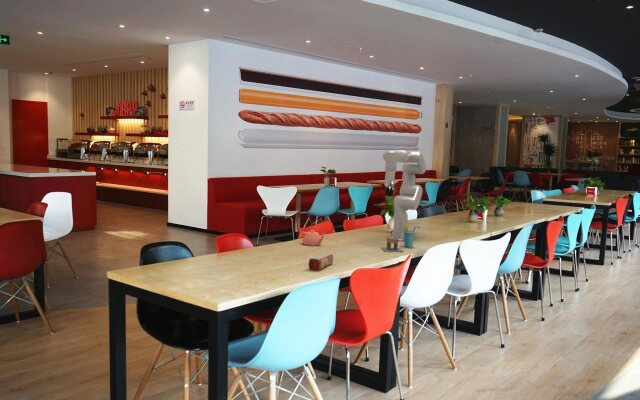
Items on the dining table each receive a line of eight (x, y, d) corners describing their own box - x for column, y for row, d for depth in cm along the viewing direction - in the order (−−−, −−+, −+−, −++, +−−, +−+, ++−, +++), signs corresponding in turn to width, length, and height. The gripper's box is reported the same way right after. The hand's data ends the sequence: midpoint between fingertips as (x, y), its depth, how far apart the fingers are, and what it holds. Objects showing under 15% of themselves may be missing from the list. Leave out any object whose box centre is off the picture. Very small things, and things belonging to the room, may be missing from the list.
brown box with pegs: (386, 248, 362) (387, 237, 362) (395, 248, 363) (396, 237, 362) (388, 250, 357) (389, 239, 356) (397, 250, 357) (398, 239, 356)
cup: (421, 248, 370) (423, 226, 369) (415, 249, 364) (417, 226, 363) (403, 245, 379) (405, 223, 378) (397, 246, 373) (398, 224, 372)
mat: (381, 248, 365) (381, 247, 365) (399, 248, 366) (399, 247, 366) (384, 251, 353) (384, 251, 353) (403, 252, 354) (403, 251, 354)
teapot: (305, 241, 375) (306, 227, 374) (329, 245, 366) (330, 230, 365) (296, 244, 365) (296, 229, 364) (320, 247, 356) (321, 233, 355)
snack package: (322, 263, 312) (323, 251, 312) (334, 264, 310) (334, 252, 309) (307, 270, 293) (308, 257, 292) (319, 271, 290) (320, 259, 290)
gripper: (382, 168, 382) (381, 193, 383) (387, 170, 365) (386, 196, 366) (393, 169, 382) (392, 194, 384) (399, 170, 365) (397, 196, 367)
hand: (389, 195), depth 375 cm, fingers open, 9 cm apart
